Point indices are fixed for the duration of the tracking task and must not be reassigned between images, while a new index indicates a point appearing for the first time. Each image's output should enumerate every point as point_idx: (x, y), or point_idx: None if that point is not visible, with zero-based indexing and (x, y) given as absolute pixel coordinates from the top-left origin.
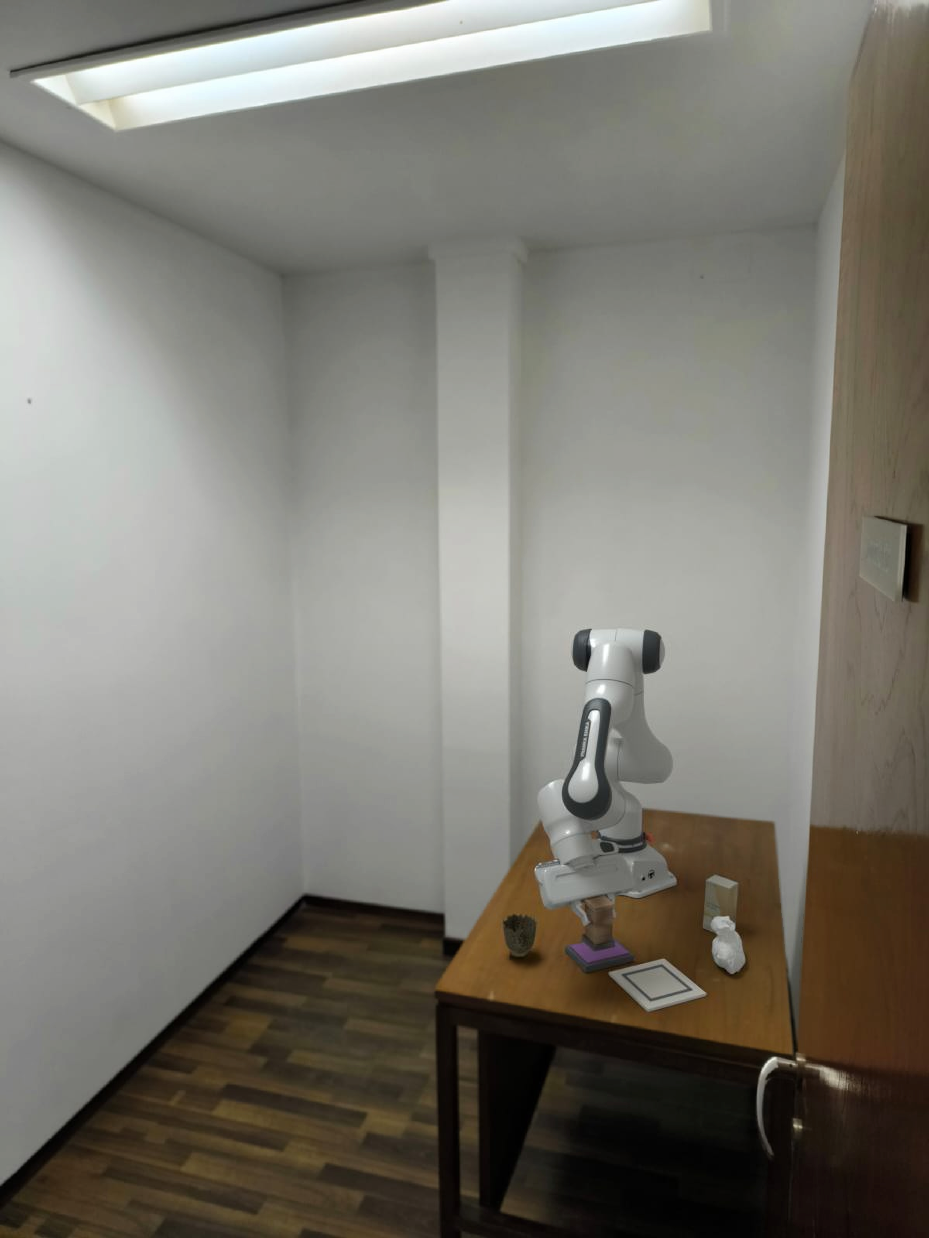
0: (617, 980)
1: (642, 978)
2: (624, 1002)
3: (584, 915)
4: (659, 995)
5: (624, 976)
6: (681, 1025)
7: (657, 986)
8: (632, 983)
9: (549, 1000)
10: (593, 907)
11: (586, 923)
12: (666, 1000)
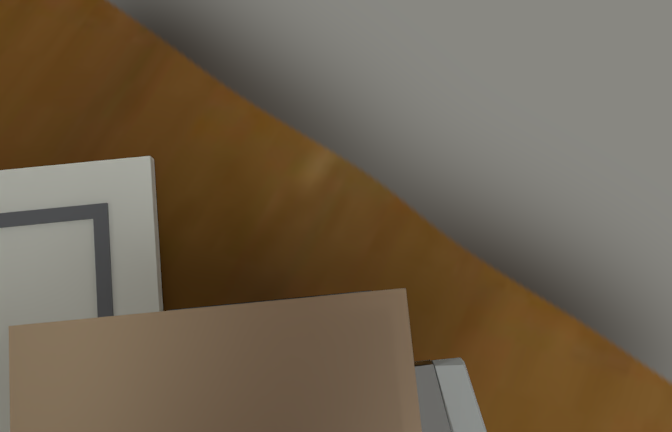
0: None
1: None
2: (217, 253)
3: (480, 429)
4: (41, 234)
5: None
6: (72, 39)
7: (7, 303)
8: None
9: (546, 369)
10: (410, 343)
11: (459, 358)
12: (33, 190)
